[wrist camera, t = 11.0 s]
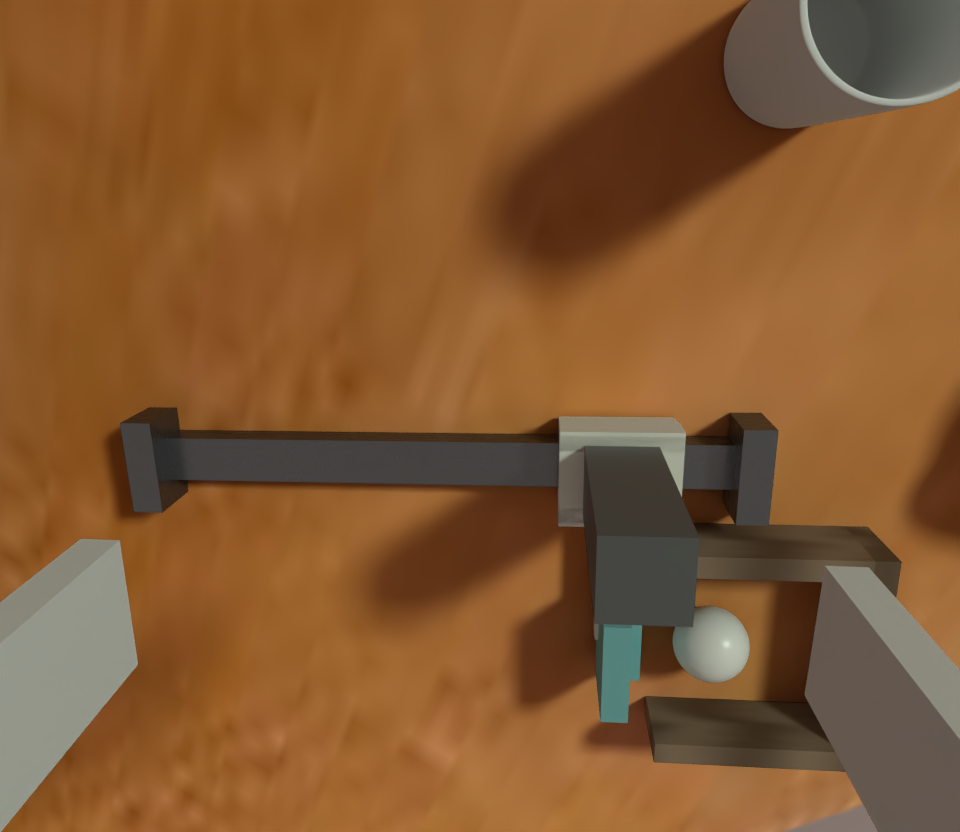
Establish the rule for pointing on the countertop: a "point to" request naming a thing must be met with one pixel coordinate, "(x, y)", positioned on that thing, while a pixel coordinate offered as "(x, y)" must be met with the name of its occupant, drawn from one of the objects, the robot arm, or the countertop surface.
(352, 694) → the countertop surface
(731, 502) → the rail
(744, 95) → the mug
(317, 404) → the countertop surface
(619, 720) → the carriage
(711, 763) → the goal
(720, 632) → the ball
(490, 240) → the countertop surface
